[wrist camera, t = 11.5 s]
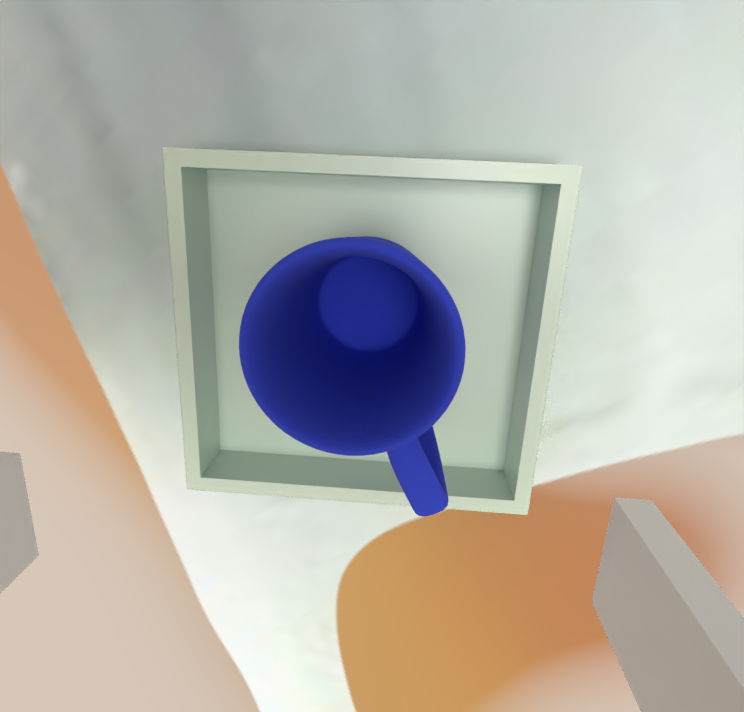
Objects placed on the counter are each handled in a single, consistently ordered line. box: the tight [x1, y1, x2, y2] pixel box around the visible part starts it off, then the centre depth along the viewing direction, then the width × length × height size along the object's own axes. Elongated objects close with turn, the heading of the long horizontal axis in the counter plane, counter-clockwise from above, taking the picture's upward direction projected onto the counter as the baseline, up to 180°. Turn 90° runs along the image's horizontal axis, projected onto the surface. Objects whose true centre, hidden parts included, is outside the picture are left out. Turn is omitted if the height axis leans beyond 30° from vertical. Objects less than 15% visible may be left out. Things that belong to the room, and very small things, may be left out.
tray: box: [162, 147, 583, 515], centre depth 27 cm, size 18×19×4 cm
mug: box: [239, 236, 466, 516], centre depth 24 cm, size 8×12×10 cm
